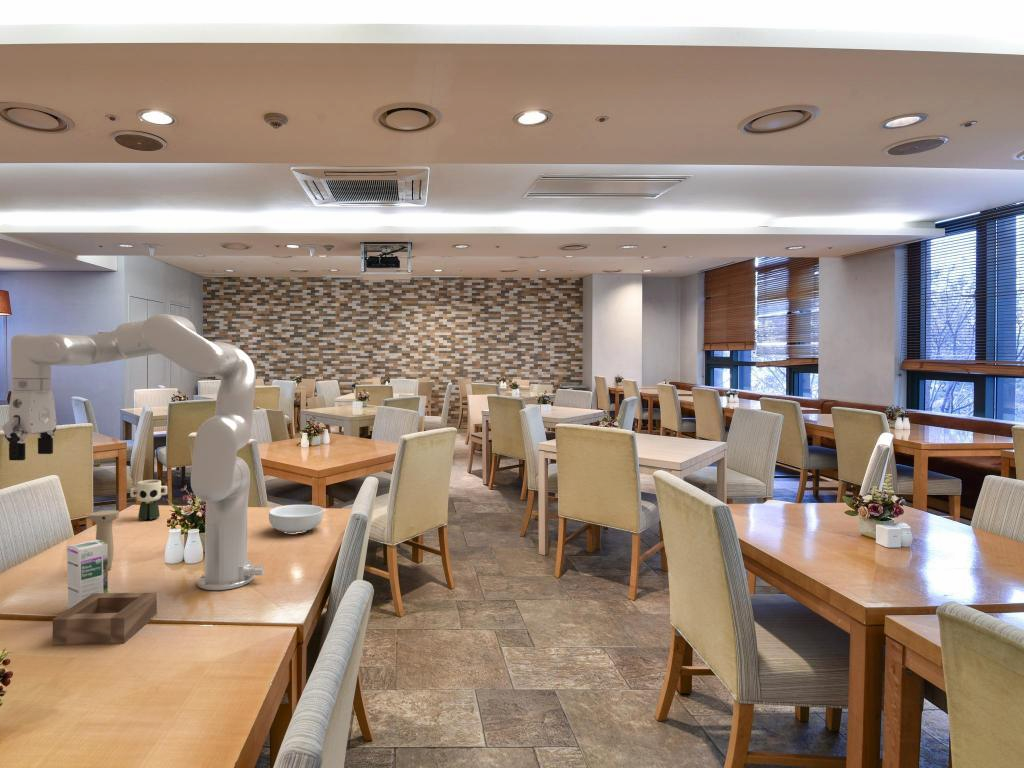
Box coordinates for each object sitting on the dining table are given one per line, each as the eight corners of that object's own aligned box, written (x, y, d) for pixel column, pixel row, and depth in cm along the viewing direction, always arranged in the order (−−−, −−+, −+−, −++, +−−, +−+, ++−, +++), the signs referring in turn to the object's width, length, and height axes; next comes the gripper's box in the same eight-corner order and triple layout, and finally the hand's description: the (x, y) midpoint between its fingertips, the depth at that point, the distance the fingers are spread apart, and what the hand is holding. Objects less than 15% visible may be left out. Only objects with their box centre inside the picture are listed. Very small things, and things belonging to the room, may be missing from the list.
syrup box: (79, 616, 128) (79, 549, 127) (66, 609, 131) (66, 544, 130) (108, 607, 133) (108, 542, 132) (95, 601, 136) (95, 538, 135)
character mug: (129, 523, 199) (129, 484, 199) (131, 518, 205) (131, 480, 205) (166, 520, 204) (166, 482, 203) (168, 515, 210) (168, 478, 210)
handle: (118, 570, 155) (118, 513, 154) (88, 574, 152) (88, 516, 151) (119, 565, 159) (119, 509, 159) (90, 568, 156) (90, 512, 155)
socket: (156, 615, 129) (156, 592, 129) (124, 643, 116) (124, 617, 116) (92, 616, 128) (92, 593, 127) (52, 645, 115) (52, 619, 114)
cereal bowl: (312, 539, 186) (312, 517, 186) (259, 538, 186) (259, 515, 186) (329, 524, 203) (330, 504, 203) (281, 523, 203) (281, 503, 203)
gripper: (22, 387, 134) (23, 463, 135) (70, 384, 152) (71, 451, 152) (-14, 387, 134) (-13, 462, 134) (39, 384, 151) (39, 451, 151)
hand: (31, 456), depth 143 cm, fingers open, 9 cm apart
